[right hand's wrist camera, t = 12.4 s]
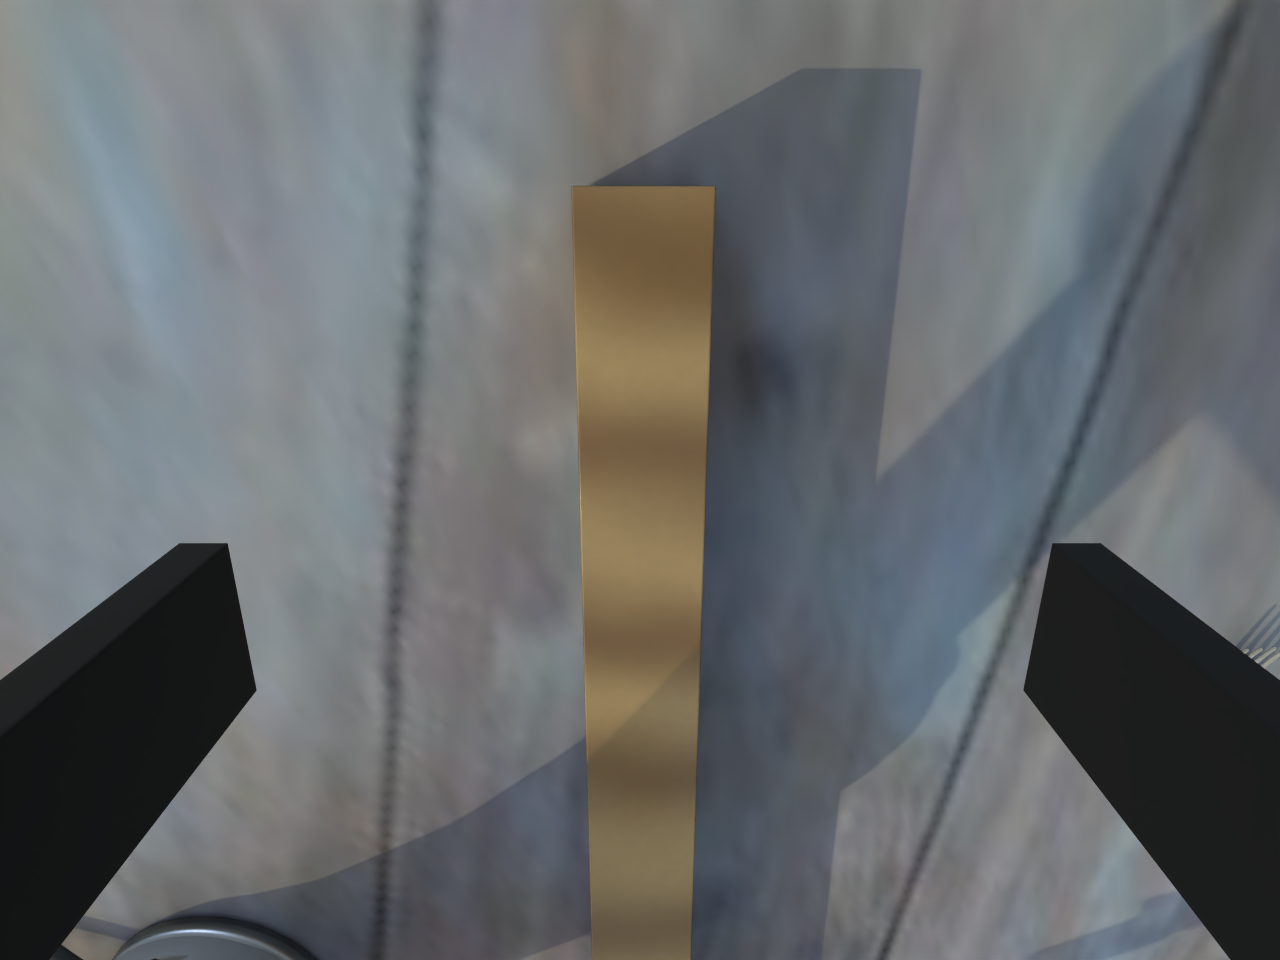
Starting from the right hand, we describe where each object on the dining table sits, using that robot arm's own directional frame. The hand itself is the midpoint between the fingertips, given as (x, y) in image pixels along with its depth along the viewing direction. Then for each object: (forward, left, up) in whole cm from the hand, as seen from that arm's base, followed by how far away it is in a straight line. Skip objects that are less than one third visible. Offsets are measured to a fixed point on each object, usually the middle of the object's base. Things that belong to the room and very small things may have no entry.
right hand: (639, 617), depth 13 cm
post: (+9, +27, -26) cm, 39 cm away
